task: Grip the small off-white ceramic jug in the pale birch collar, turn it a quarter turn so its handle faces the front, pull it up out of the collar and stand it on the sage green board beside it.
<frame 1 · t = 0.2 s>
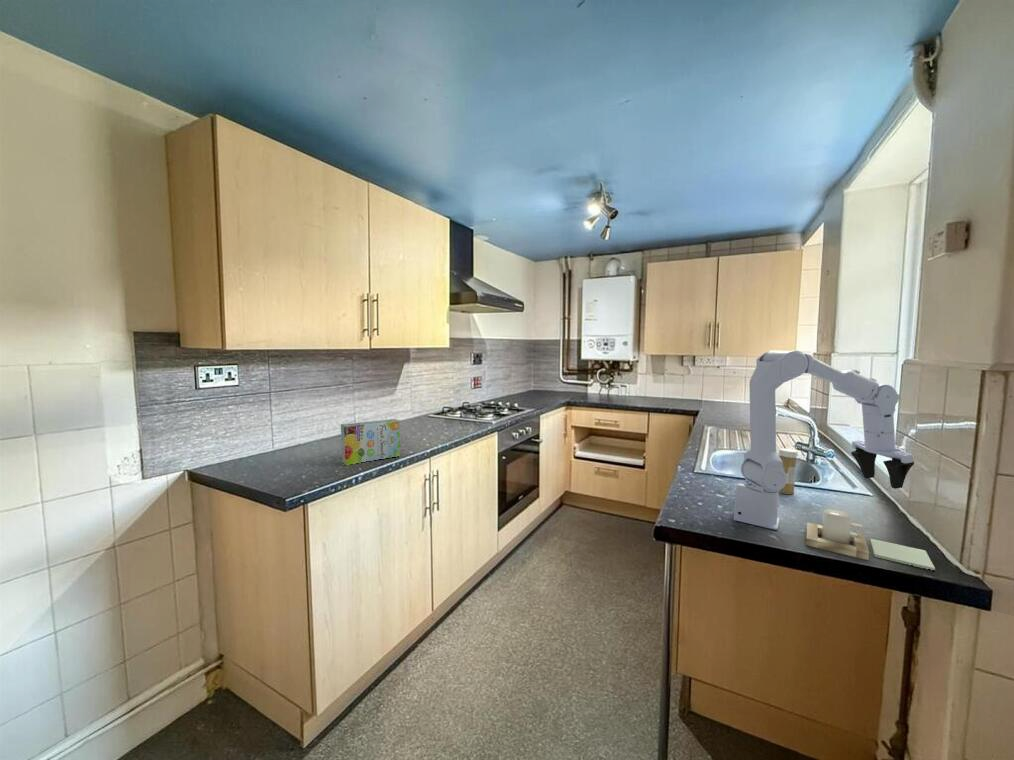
hand: (882, 482, 103), 11 cm above the worktop, tool pointing down, fingers open, 7 cm apart
jug: (841, 529, 92), in the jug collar
sprinkles bottle: (785, 492, 125), on the worktop
sage board: (900, 554, 87), on the worktop
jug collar: (835, 543, 92), on the worktop
snack box: (371, 460, 157), on the worktop
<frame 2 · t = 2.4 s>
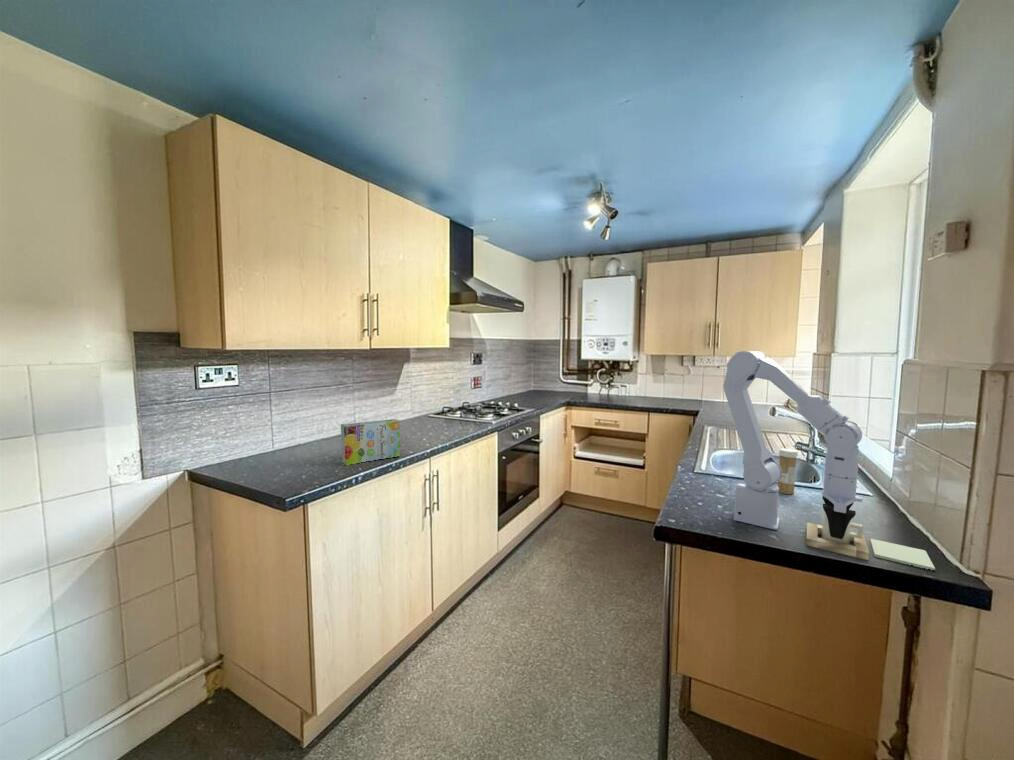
hand: (835, 533, 92), 2 cm above the worktop, tool pointing down, fingers closed on jug, 5 cm apart
jug: (841, 529, 92), in the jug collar, touching gripper
everything else where it was.
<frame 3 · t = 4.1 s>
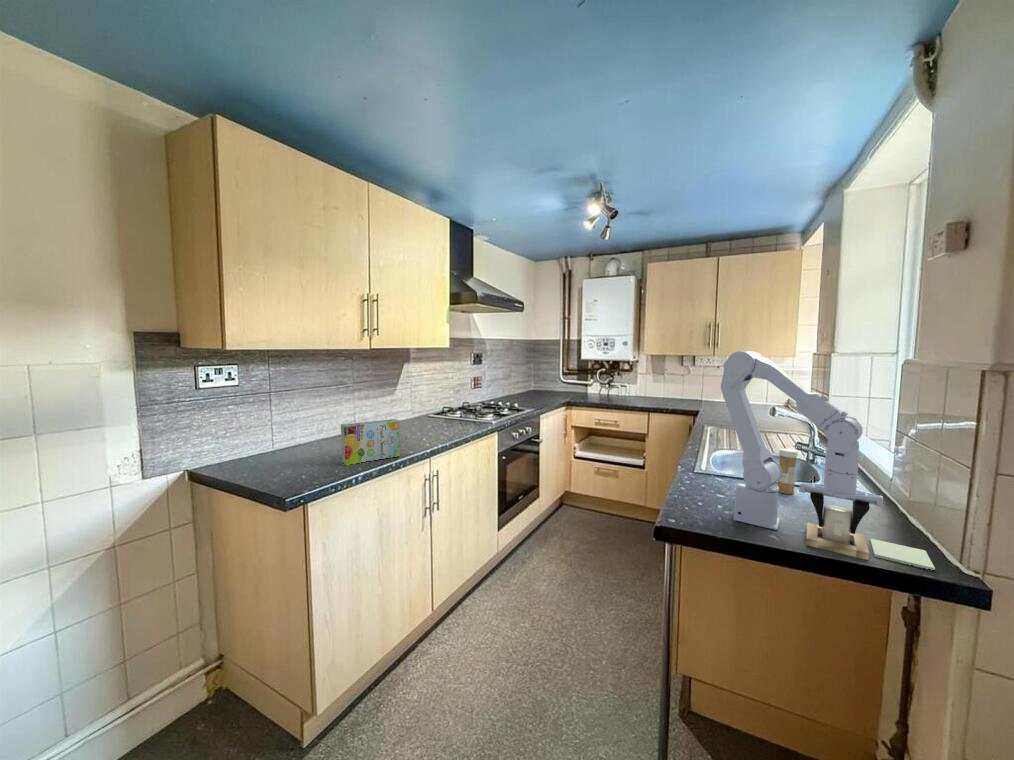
hand: (836, 528, 92), 3 cm above the worktop, tool pointing down, fingers closed on jug, 5 cm apart
jug: (836, 525, 91), point 4 cm above the worktop, touching gripper
everything else where it was.
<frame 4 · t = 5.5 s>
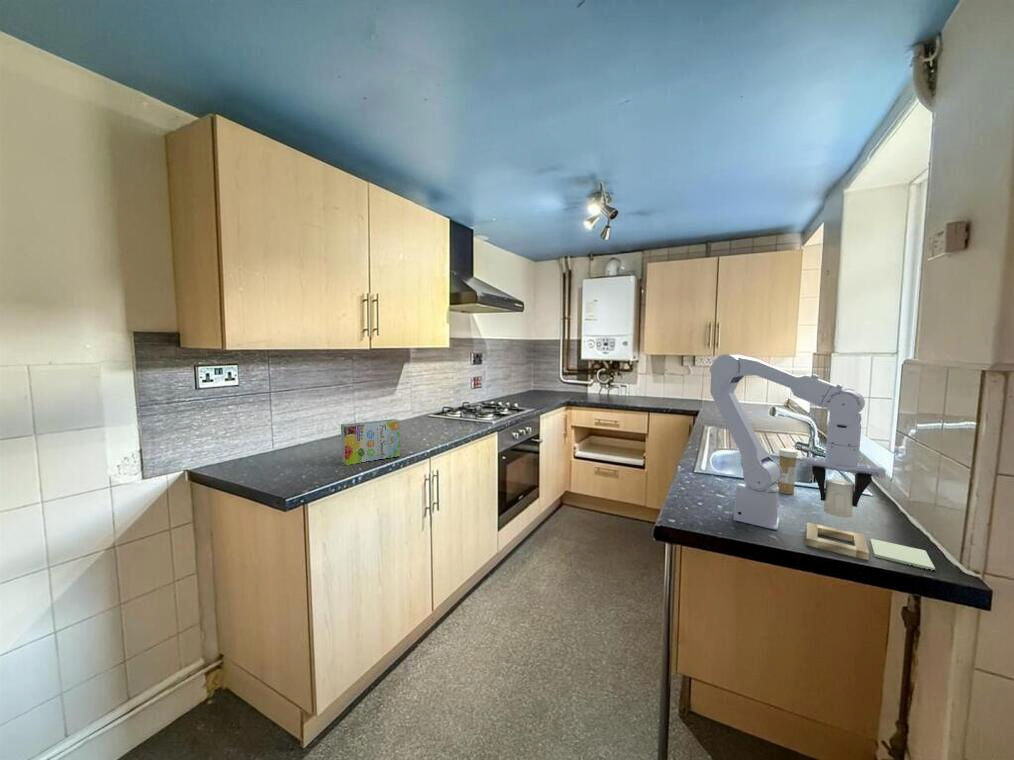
hand: (838, 502, 92), 10 cm above the worktop, tool pointing down, fingers closed on jug, 5 cm apart
jug: (838, 499, 91), point 11 cm above the worktop, touching gripper
everything else where it was.
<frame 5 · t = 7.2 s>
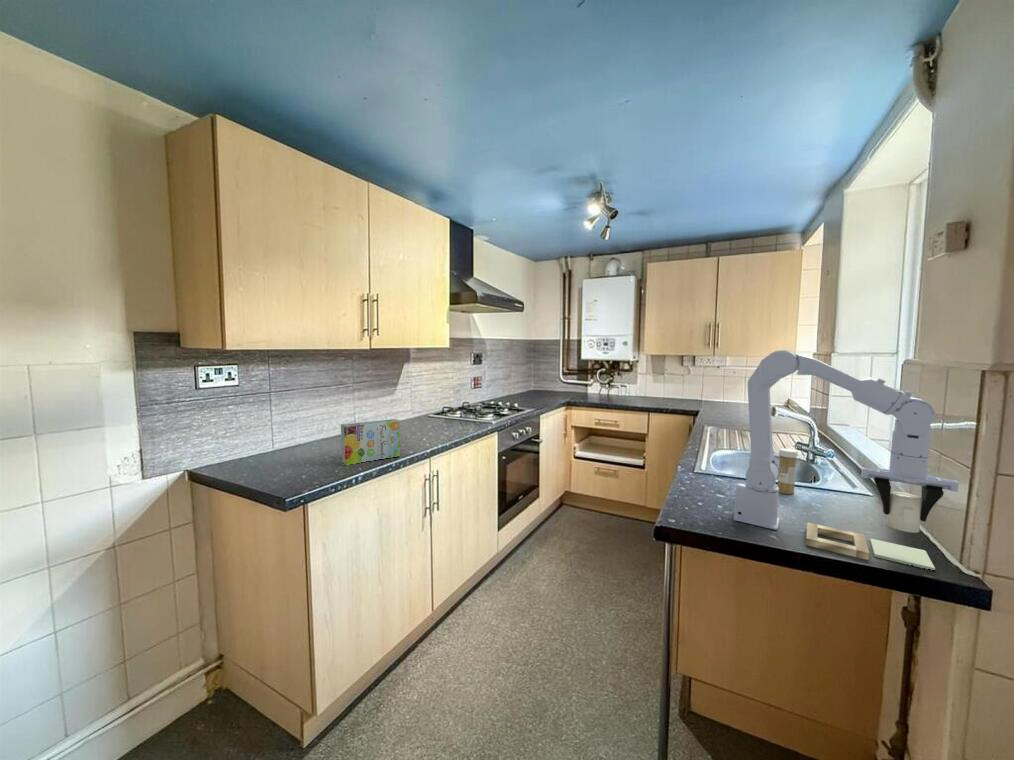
hand: (903, 516, 87), 9 cm above the worktop, tool pointing down, fingers closed on jug, 5 cm apart
jug: (905, 512, 86), point 10 cm above the worktop, touching gripper
everything else where it was.
when the fingers open (4 cm above the worktop, at t = 8.6 s): jug drops 1 cm, resting on sage board.
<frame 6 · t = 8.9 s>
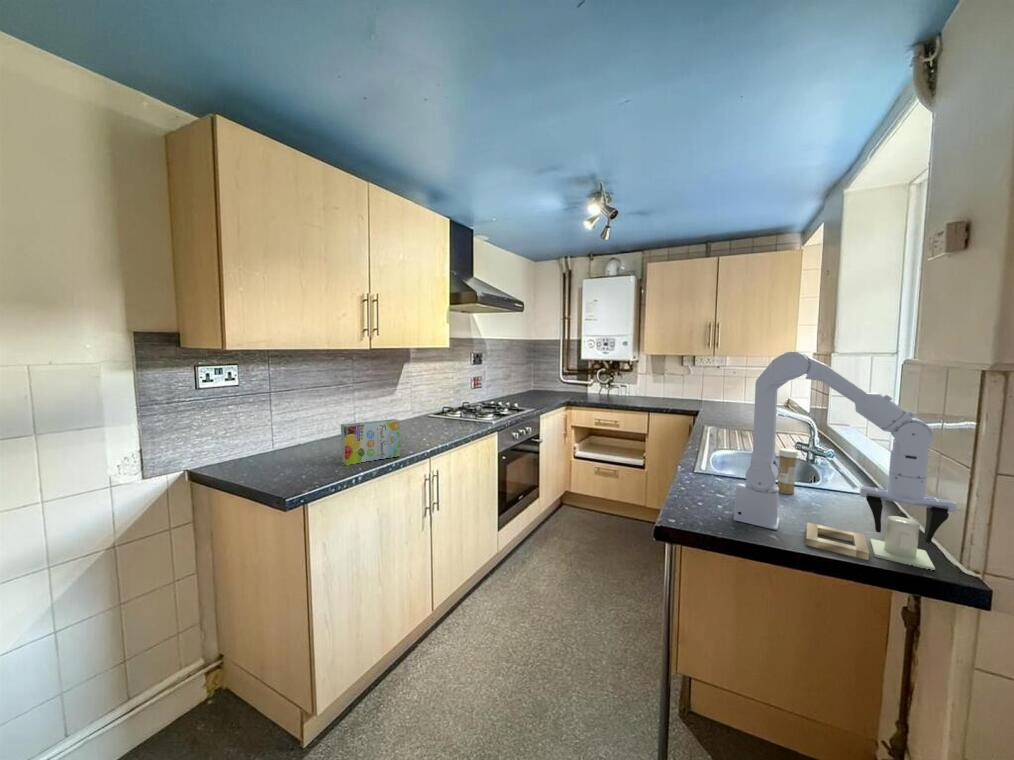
hand: (901, 535, 87), 4 cm above the worktop, tool pointing down, fingers open, 7 cm apart
jug: (902, 538, 86), on the sage board, point 4 cm above the worktop
everything else where it was.
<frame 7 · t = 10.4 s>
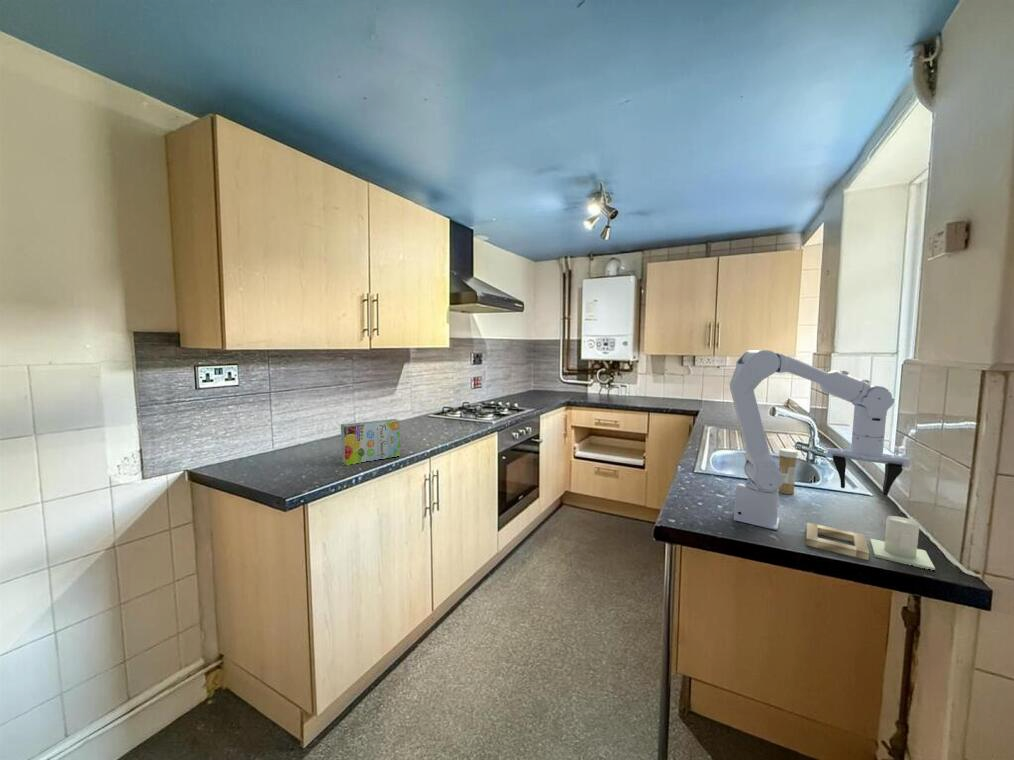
hand: (863, 490, 97), 10 cm above the worktop, tool pointing down, fingers open, 7 cm apart
nothing on the worktop moved.
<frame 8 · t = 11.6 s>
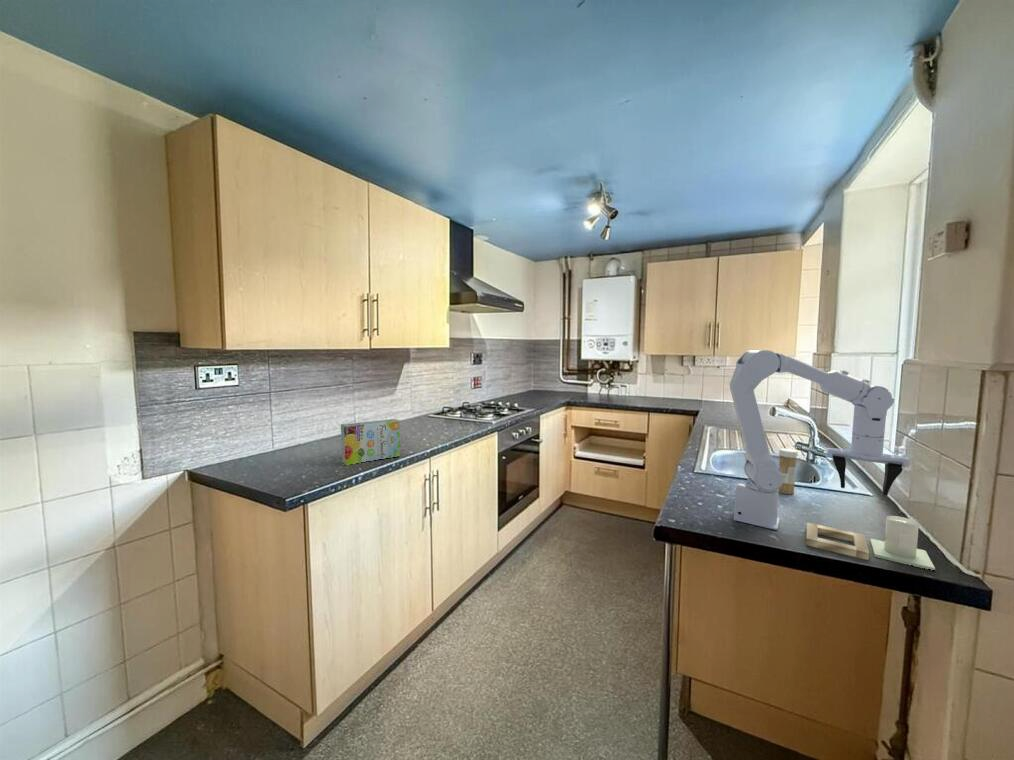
hand: (863, 490, 97), 10 cm above the worktop, tool pointing down, fingers open, 7 cm apart
nothing on the worktop moved.
at the end: jug 0.1 cm off-centre on the sage board, point 4.1 cm above the sage board's base; jug tilted 1°; the gripper is holding nothing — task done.
